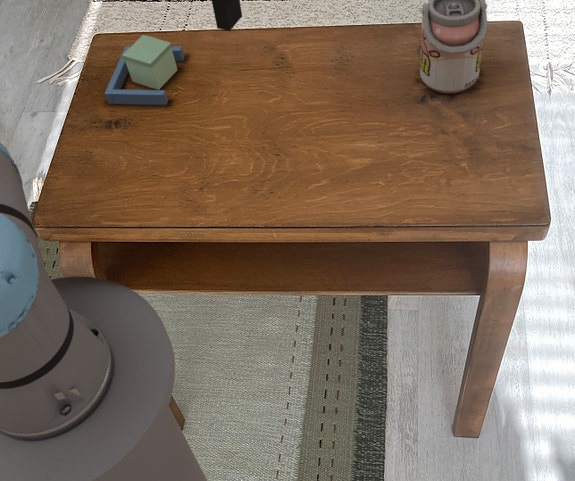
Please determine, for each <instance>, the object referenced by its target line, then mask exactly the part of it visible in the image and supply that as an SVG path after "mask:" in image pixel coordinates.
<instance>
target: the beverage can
mask: <svg viewBox="0 0 575 481" xmlns="http://www.w3.org/2000/svg"><path fill="white" fill-rule="evenodd" d="M487 9H488V4H487V2H486V0H429V1H428V3H423V4H422V8H421V11H420V12H421V14H422V18H421V31H420V32H421V33H420V34H421V35H420V62H419V63H420V64H419V76H420V78H421V80H422V82H423V83H424V84H425V85H426V87H428V88H429V89H430V90H432V91H435V92H437V93H440V94H458V93H461V92H464V91H466V90H468V89H469V88H471V87H472V86H473V85H474V84H475V83H476V82H477V80H478V79H479V76H480V70H481V62H482V61H481V60H482V51H483V42H484V40H485V38H486V35H487V32H488V27H489V26H488V16H487Z"/></svg>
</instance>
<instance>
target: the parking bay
mask: <svg viewBox="0 0 575 481" xmlns="http://www.w3.org/2000/svg"><path fill="white" fill-rule="evenodd" d="M131 46H132V45H126V46H125V47H124V49H123V52H122V54H121V56H120V58H119V61H118V63H117V65H116V67H115V69H114V71H113V74H112V75H111V78H110V81H109V83H108V84H107V86H106V89H105V91H104V96H105V99H106V102H107V104H108V105H140V106H142V105H144V106H147V105H148V106H167V104H168V102H169V99H168V96H167V92H166V90H163V89H159V90H156V89H122V88H123V85H124V83H125V82H126V79H127V76H128V74H129V71H128V68H127V65H126V62H125V60H124V59H123V56H122V55H123V54H124V53H125V52H126V51H127V50H128V49H129V48H130V47H131ZM172 52H173V56H174V59H175V62H183V61H184V60H185V54H184V49H183V46H172Z"/></svg>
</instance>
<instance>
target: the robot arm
mask: <svg viewBox="0 0 575 481" xmlns="http://www.w3.org/2000/svg"><path fill="white" fill-rule="evenodd" d="M211 5H212V10H213V15H214V19H215V23H216V28H217V29H218V30H223V31H227V32H230V31H231V30H232V29H233V28H234V27H235V26H236V25H237V23H238V22H239V21H240V20H241V19H242V18H243V12H242V7H241V1H240V0H211ZM12 157H13V156H12V155H11V154H10V152H9V150H8V149H7V148H6V147H5V146H4V144H3V143H2V142H0V433H2V434H3V435H5V436H7V437H10V438H13V439H16V440H22V441H40V440H46V439H50V438H54V437H57V436H59V435H62V434H64V433H66V432H68V431H70V430H72V429H73V428H75V427H77V426H78V425H80V424H81V423H82V422H84V421H85V420H86V419H87V418H88V417H89V416H90V415H91V414H92V413H93V412H94V411H95V410H96V409H97V408H98V407H99V405H100V404H101V402H102V401H103V399H104V398H105V396H106V394H107V392H108V390H109V388H110V385H111V382H112V378H113V373H114V358H113V353H112V350H111V347H110V345H109V343H108V341H107V340H106V338H105V336H104V334H103V333H102V331H101V330H100V329H99V328H98V327H97V326H96V325H95V324H94V323H93V322H91V321H90V320H88V319H86V318H85V317H83V316H81V315H79V314H78V313H76V312H74V311H72V310H71V309H69V308H68V307H67V306H66V304H65V302H64V301H63V299H62V297H61V296H60V294H59V292H58V291H57V289H56V288H55V286H54V284H53V283H52V281H51V280H52V279H51V277H50V275H49V272H48V270H47V267H46V265H45V262H44V258H43V256H42V251H41V248H40V245H39V242H38V237H37V234H36V231H35V227H34V223H33V219H32V217H31V213H30V210H29V206H28V202H27V199H26V195H25V190H24V185H23V179H22V176H21V173H20V170H19V167H18V165H17V164H16V163H15V161H14V159H13V158H12Z"/></svg>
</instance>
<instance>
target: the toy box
mask: <svg viewBox="0 0 575 481" xmlns="http://www.w3.org/2000/svg"><path fill="white" fill-rule="evenodd" d="M130 46H131V47H130V48H129V49H128V50H127V51H126V52H125V53H124V54H123V53H122V54H123V55H122V54H121V56H123V59H124V60H125V62H126V65H127V68H128V71H129V72H128V74H129V76H130V79H131V82H132V83H135V84H138V85H141V86H143V87H147V88H150V89H152V90H161V88H162V87H163V86H164V85H165V84H166V83H167V82H168V81H169V80H170V79H171V78H172V77H173V76H174V75H175V74H176V72H177V71H178V67H177V62H176V61H175V59H174V56H173V52H172V47H173V44H172V42H170V41H166V40H163V39H159V38H156V37H153V36H149V35H145V34H142V35H141V36H140V37H139V38H138V39H137V40H136V41H135V42H134V43H133V44H132V45H130Z"/></svg>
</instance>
